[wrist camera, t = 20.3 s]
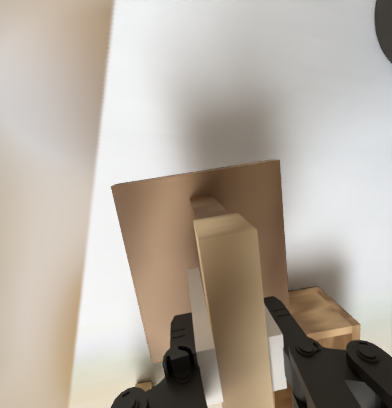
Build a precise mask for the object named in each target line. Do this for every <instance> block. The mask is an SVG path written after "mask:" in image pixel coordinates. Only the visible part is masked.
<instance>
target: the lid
mask: <svg viewBox="0 0 392 408" xmlns="http://www.w3.org/2000/svg"><path fill="white" fill-rule="evenodd" d="M111 189H112V193H113V198H114V202H115V206H116V211H117V215H118V219H119V223H120V228H121V232H122V236H123V241H124V245H125V249H126V254H127V258H128V262H129V266H130V271H131V275H132V279H133V284H134V288H135V292H136V296H137V301H138V305H139V309H140V314H141V318H142V322H143V326H144V331H145V335H146V339H147V344H148V348H149V352H150V357H151V361H152V364H155V363H160V362H163V356H164V355H165V353H166V351H167V350H168V349H170V333H171V332H170V328H171V322H172V320H173V318H174V316H175V315H180V314H185V313H190V312H192V309H191V300H190V290H189V281H188V271H187V269H193V268H199V273H200V278H201V283H202V288H203V292H204V297H205V302H206V307H207V312H208V317H209V321H210V326H211V331H212V336H213V341H214V346H215V351H216V358H217V364H218V371H219V377H220V383H221V390H222V396H223V402H222V407H223V408H274V404H273V393H272V383H271V372H270V361H269V351H268V340H267V329H266V319H265V308H264V298H265V297H270V296H274V297H276V298H277V299H279V300H281V301H282V303H283V304H284V305H285V307H286V309H288V311H289V312H290V310H289V295H288V280H287V265H286V250H285V234H284V219H283V204H282V189H281V174H280V160H266V161H260V162H254V163H247V164H241V165H235V166H228V167H222V168H215V169H209V170H203V171H196V172H190V173H183V174H177V175H171V176H164V177H158V178H151V179H145V180H139V181H132V182H126V183H120V184H115V185H113V186H111Z"/></svg>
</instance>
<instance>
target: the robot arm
mask: <svg viewBox="0 0 392 408" xmlns="http://www.w3.org/2000/svg"><path fill="white" fill-rule="evenodd" d="M375 24H376V32H377V36H378V40H379V43H380V46H381V48H382V50H383V52H384V54H385V55H386V57H387V58H388V59H389V61H390V62H391V63H392V0H377V3H376V12H375ZM187 271H188V281H189V290H190V300H191V309H192V312H190V313H185V314H180V315H175V316H174V318H173V320H172V322H171V328H170V332H171V333H170V349H168V350H167V351H166V353H165V355H164V356H163V362H162V364H163V368H164V373H165V378H164V379H163V380H162V381H161V382H160V383H159V384H158V385H156V386H155V387H153V388H151V389H149V390H147V391H146V392H145V391H144V390H143V389H142V388H139V387H132V388H128V389H127V390H125V391H123V392H122V393H121V394H120V395H119V396H118V397H117V398H116V399H115V401H114V402H113V404H112V406H111V408H208V407H207V406H208V405H213V404H217V403H222V402H223V396H222V390H221V383H220V377H219V371H218V364H217V358H216V351H215V346H214V341H213V336H212V331H211V326H210V321H209V317H208V312H207V307H206V302H205V297H204V292H203V288H202V283H201V278H200V273H199V268H193V269H187ZM264 308H265V319H266V329H267V340H268V351H269V361H270V372H271V383H272V391H277V390H282V389H286V388H287V383H286V379H287V381H288V383H289V385H290V387H291V389H292V403H293V408H392V357H391V356H390V355H389V354H387V353H386V352H385V351H383V350H382V349H381V348H379V347H378V346H376V345H374V344H372V343H370V342H367V341H363V340H353V341H350V342H349V343H348V344H347V347H346V350H342V349H331V348H325V347H323V346H321V345H320V344H319V342H317V341H316V340H314V339H312V338H309V337H308V336H307V335H306V334H305V332H304V331H303V330H302V328H301V327H300V326H299V324H298V323H297V322H296V320H295V319H294V318H293V316H292V315H291V314H290V312H289V311H288V309H286V307H285V305H284V304H283V303H282V301H281V300H279V299H277V298H276V297H274V296H270V297H265V298H264Z"/></svg>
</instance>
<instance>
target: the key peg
mask: <svg viewBox="0 0 392 408" xmlns="http://www.w3.org/2000/svg"><path fill="white" fill-rule="evenodd" d="M135 387H139V388H142V389H143V390H144V391H145V392H146V391H147V390H149V389H151V388H152V384H151V382H145V383H140V384H136V386H135Z"/></svg>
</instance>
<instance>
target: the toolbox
mask: <svg viewBox="0 0 392 408" xmlns="http://www.w3.org/2000/svg"><path fill="white" fill-rule="evenodd" d="M288 295H289V310H290V314H291V315H292V316H293V318H294V319H295V320H296V322H297V323H298V324H299V326H300V327H301V328H302V330H303V331H304V332H305V334H306V335H307V336H308V337H309V338H312V339H314V340H316V341H317V342H319V344H320V345H321V346H323V347H325V348H331V349H342V350H346V347H347V344H348V343H349V342H350V341H353V340H360V324H359V323H358V322H357V321H356V320H355V319H354V318H353V317H352V316H350V315H349V314H348V313H347V312H346V311H345V310H344V309H343V308H342V307H340V306H339V305H338V304H337V303H336V302H335V301H334V300H333V299H332V298H331V297H329V296H328V295H327V294H326V293H325V292H324V291H323V290H322V289H321V288H319V287H313V288H307V289H301V290H295V291H289V292H288ZM286 383H287V388H286V389H282V390H277V391H272V393H273V404H274V408H293V403H292V389H291V387H290V385H289V383H288V381H287V379H286Z"/></svg>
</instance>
